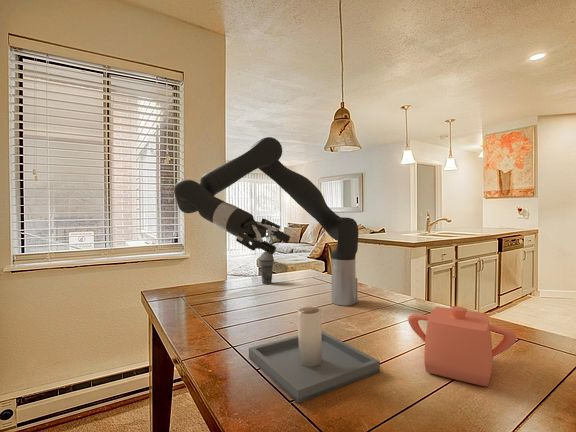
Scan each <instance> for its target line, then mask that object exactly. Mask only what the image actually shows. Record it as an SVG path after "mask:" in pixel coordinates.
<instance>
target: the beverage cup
mask: <svg viewBox="0 0 576 432" xmlns="http://www.w3.org/2000/svg"><path fill="white" fill-rule="evenodd" d="M274 258H275V257H274V254H270V253H268V252H266V251H263V252H261V254H260V255H259V260H258V261H259V265H260V273H261V276H260V277H261V282H262V283H261V284H262V285H272V280H273V271H274V270H273V269H274V263H275V259H274Z"/></svg>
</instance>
